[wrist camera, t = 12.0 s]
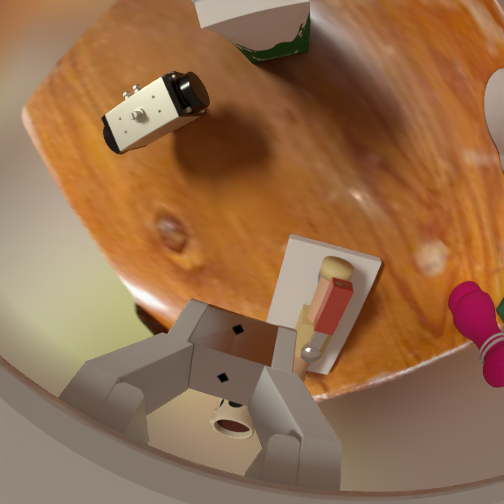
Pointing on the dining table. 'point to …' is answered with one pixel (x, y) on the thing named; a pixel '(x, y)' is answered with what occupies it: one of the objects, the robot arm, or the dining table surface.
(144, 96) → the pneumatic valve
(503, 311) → the coffee box
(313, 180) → the dining table surface
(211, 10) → the milk carton
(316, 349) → the lever
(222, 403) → the character mug
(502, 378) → the pepper mill
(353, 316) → the board
